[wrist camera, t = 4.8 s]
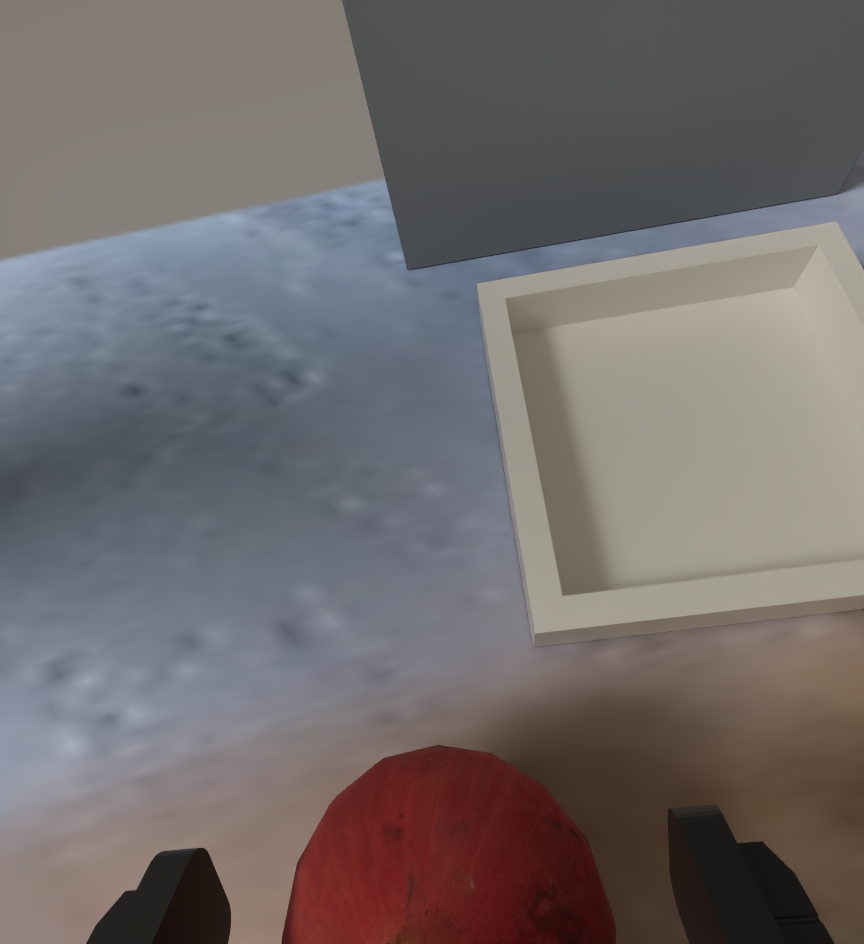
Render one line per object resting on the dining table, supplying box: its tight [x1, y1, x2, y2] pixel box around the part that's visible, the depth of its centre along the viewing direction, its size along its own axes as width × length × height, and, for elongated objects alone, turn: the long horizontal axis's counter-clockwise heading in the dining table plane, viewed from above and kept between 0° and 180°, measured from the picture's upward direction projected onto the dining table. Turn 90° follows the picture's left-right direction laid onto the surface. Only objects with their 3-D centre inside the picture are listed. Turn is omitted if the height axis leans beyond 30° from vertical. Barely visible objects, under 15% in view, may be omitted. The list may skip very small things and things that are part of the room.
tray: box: [477, 221, 864, 647], centre depth 16 cm, size 11×11×2 cm
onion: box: [281, 745, 616, 944], centre depth 10 cm, size 6×6×8 cm
